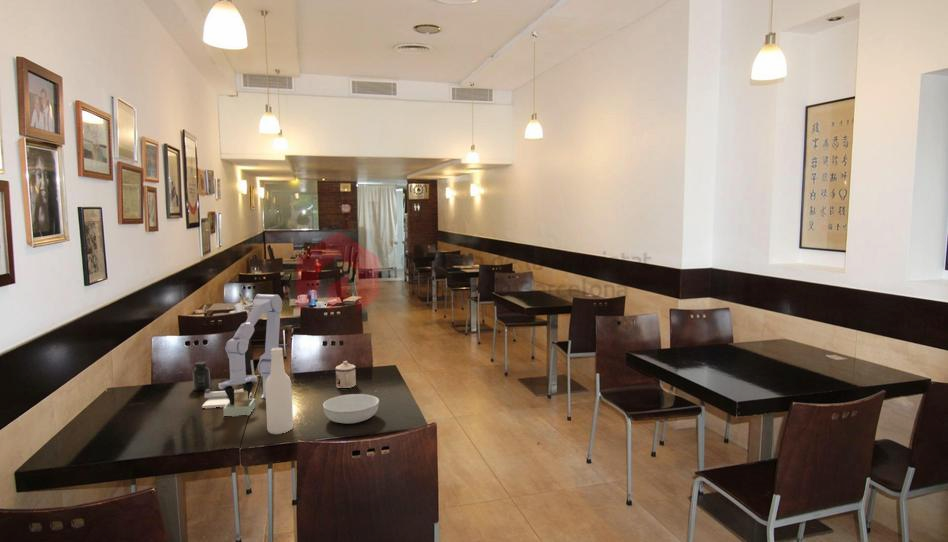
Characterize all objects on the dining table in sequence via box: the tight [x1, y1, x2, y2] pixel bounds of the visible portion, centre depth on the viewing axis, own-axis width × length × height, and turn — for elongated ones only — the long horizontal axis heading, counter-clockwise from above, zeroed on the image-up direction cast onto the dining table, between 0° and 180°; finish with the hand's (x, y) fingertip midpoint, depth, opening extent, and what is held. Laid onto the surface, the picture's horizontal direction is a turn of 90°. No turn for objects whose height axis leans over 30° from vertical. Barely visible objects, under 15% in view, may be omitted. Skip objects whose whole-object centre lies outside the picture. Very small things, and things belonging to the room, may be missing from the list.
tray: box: [222, 398, 256, 417], centre depth 219 cm, size 10×10×4 cm
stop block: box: [230, 388, 248, 407], centre depth 218 cm, size 5×5×6 cm
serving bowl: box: [322, 393, 380, 425], centre depth 210 cm, size 21×21×7 cm
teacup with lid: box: [334, 360, 357, 389], centre depth 249 cm, size 12×9×12 cm
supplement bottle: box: [192, 361, 211, 392], centre depth 248 cm, size 7×7×12 cm
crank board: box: [201, 392, 252, 409], centre depth 231 cm, size 16×14×2 cm
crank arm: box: [204, 388, 228, 399], centre depth 233 cm, size 12×4×3 cm, turn 100°
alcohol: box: [265, 347, 294, 435], centre depth 198 cm, size 9×9×30 cm
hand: (239, 402), depth 219 cm, fingers closed on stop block, 5 cm apart
